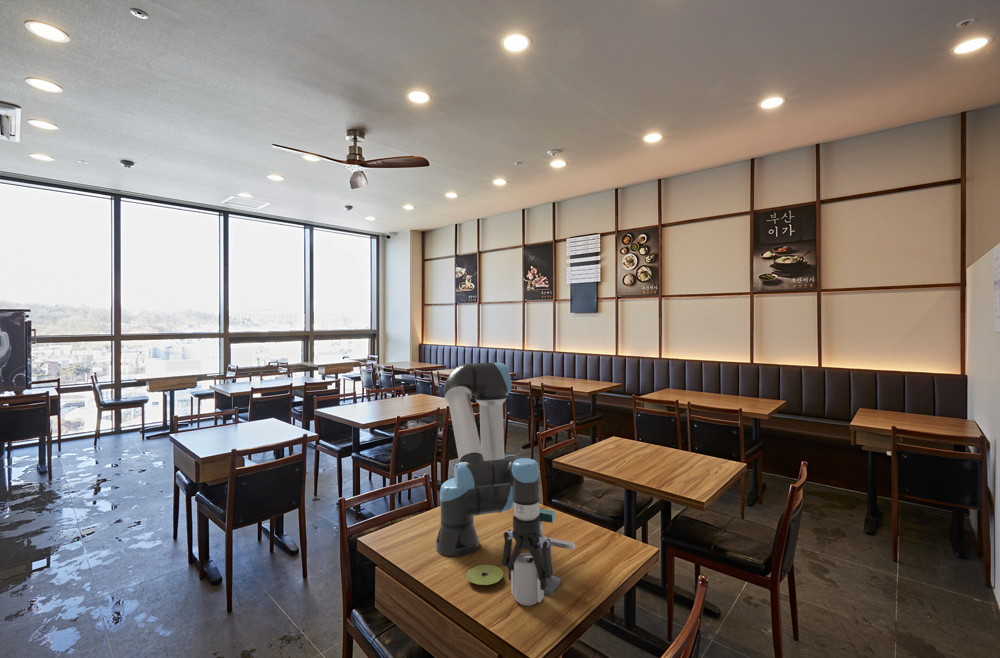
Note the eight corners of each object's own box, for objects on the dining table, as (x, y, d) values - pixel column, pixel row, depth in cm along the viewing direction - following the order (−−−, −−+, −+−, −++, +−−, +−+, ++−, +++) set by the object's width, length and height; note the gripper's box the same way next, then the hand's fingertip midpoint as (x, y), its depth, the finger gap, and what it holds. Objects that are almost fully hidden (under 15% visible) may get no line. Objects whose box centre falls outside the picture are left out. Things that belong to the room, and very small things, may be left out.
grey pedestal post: (519, 586, 134) (519, 546, 134) (531, 573, 141) (530, 535, 141) (550, 595, 129) (550, 554, 129) (561, 581, 136) (560, 542, 136)
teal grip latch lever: (572, 553, 129) (571, 518, 129) (523, 543, 135) (523, 510, 135) (575, 546, 133) (575, 513, 133) (528, 537, 139) (527, 505, 139)
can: (539, 609, 123) (538, 565, 123) (512, 606, 125) (511, 563, 125) (542, 593, 131) (541, 552, 130) (516, 590, 132) (516, 549, 132)
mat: (508, 586, 134) (507, 580, 134) (471, 594, 131) (471, 587, 131) (497, 567, 145) (497, 561, 145) (463, 574, 142) (463, 567, 142)
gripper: (488, 513, 129) (489, 592, 129) (554, 527, 119) (555, 613, 119) (501, 504, 136) (502, 579, 136) (564, 517, 126) (566, 598, 126)
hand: (527, 595), depth 128 cm, fingers closed on can, 7 cm apart
